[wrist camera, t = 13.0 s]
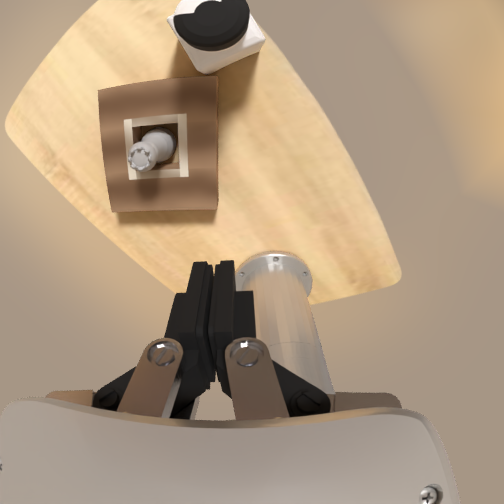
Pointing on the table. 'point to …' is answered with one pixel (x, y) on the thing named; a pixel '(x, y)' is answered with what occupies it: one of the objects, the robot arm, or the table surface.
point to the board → (189, 138)
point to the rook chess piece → (152, 149)
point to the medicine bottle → (216, 32)
